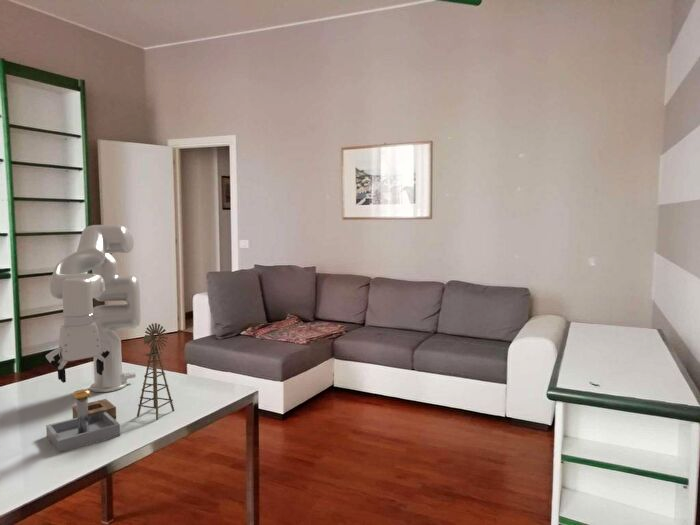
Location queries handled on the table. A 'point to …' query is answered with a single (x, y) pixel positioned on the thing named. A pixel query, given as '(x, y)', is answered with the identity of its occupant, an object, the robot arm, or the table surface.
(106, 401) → the socket block
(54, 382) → the table surface
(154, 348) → the miniature windmill
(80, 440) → the tray
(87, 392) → the pin
